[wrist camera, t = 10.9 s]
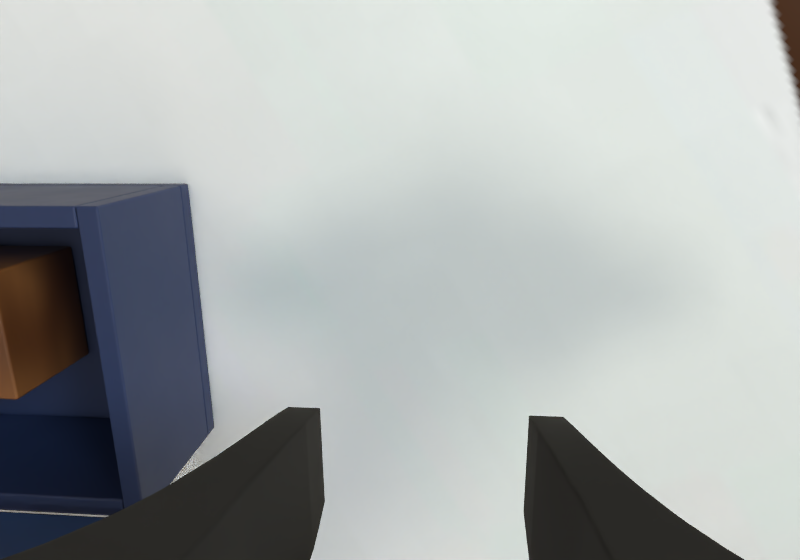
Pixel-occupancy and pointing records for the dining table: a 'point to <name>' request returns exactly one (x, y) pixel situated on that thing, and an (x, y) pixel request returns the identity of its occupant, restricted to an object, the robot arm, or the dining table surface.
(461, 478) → the dining table surface
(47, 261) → the block
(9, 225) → the case
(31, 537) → the case lid
